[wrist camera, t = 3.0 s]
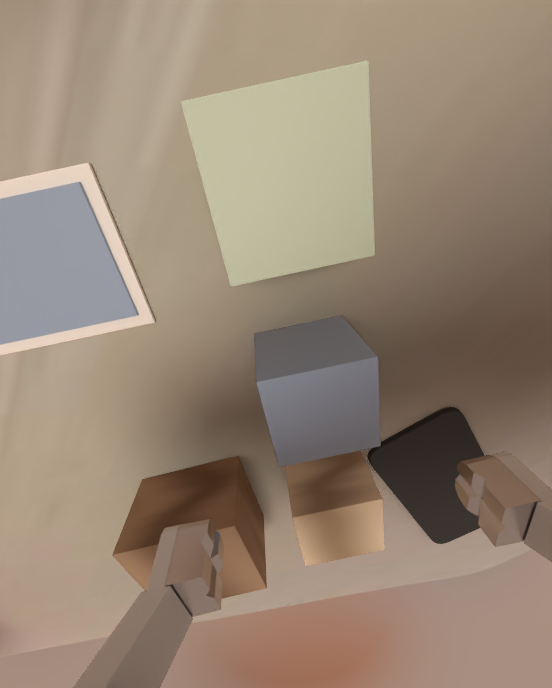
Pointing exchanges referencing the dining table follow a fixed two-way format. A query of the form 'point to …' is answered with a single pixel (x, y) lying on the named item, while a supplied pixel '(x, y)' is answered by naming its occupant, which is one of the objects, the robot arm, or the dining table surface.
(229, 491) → the walnut base
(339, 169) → the sage block
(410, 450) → the phone
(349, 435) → the slate block
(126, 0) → the dining table surface
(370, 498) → the maple block
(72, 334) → the tile
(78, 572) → the dining table surface
